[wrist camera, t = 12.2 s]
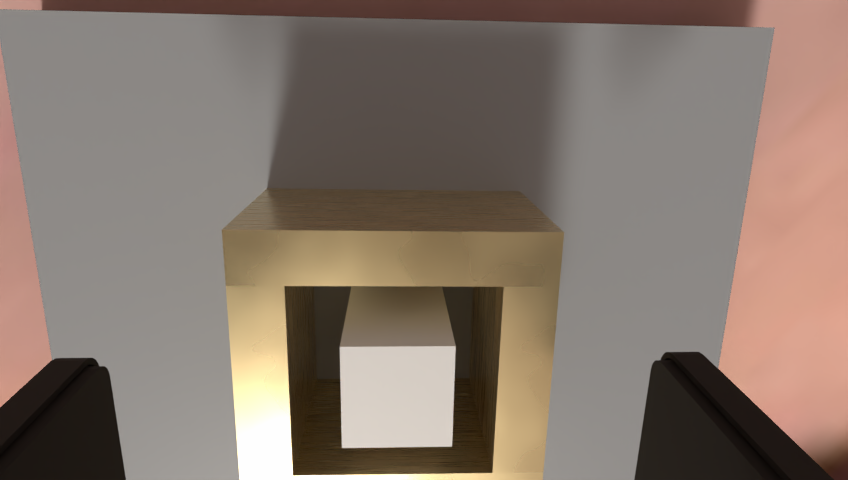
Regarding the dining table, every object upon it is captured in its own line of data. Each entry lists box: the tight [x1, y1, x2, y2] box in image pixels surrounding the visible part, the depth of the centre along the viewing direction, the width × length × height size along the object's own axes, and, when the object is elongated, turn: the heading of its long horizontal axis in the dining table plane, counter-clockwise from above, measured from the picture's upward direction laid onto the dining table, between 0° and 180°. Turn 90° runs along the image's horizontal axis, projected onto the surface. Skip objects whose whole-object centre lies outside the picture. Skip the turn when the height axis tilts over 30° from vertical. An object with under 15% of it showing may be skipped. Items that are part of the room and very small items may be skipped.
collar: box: [222, 188, 564, 480], centre depth 15 cm, size 7×7×4 cm
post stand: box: [0, 9, 774, 480], centre depth 16 cm, size 16×20×7 cm
